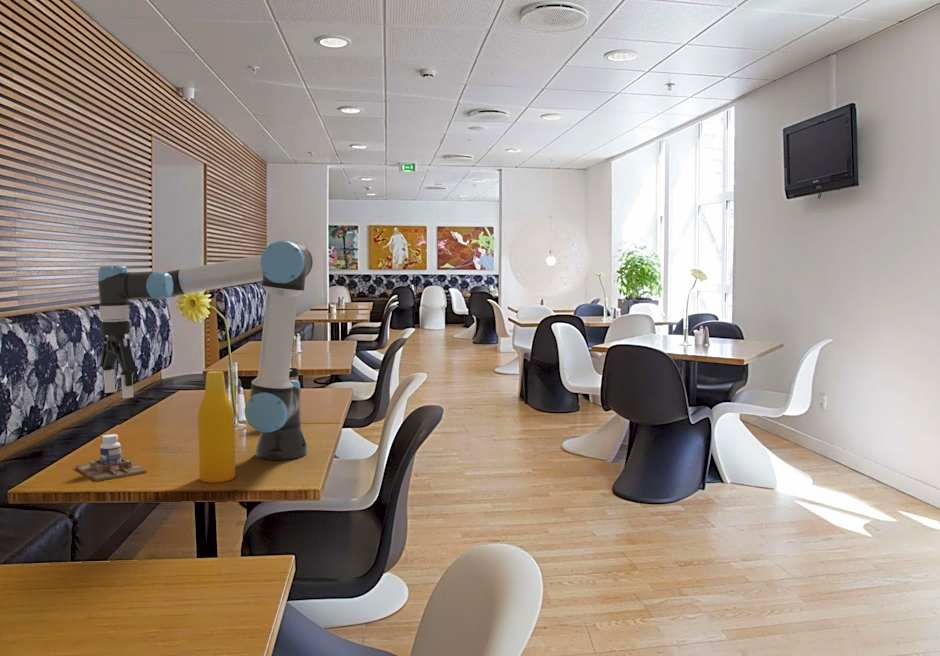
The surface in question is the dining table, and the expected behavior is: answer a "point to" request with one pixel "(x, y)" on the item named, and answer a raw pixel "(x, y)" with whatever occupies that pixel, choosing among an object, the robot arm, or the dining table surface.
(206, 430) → the beer bottle
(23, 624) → the dining table surface
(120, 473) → the organizer
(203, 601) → the dining table surface
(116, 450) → the pill bottle
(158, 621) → the dining table surface
